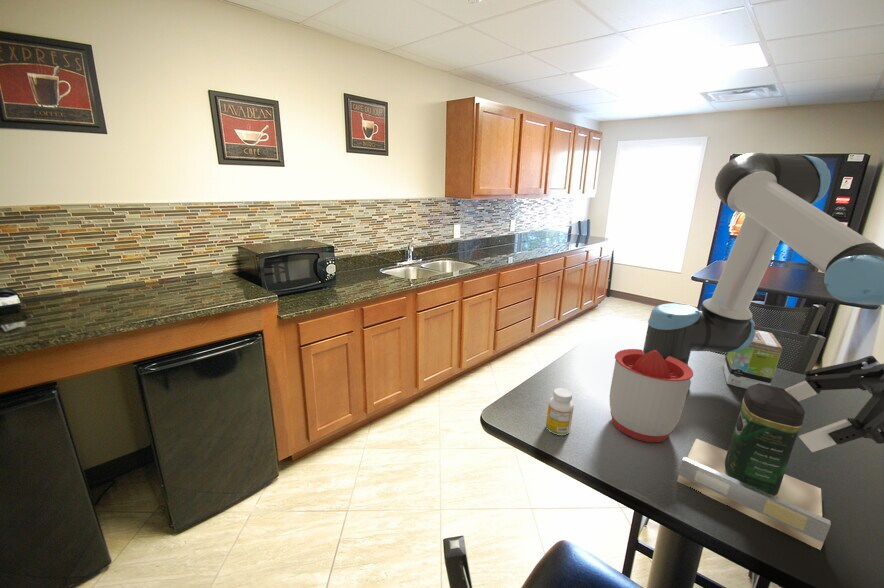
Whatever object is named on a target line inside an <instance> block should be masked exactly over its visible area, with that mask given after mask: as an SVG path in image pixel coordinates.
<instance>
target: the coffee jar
mask: <svg viewBox="0 0 884 588" xmlns="http://www.w3.org/2000/svg"><path fill="white" fill-rule="evenodd" d="M784 389H785V388H782V387H776V386H772V385H770V386H769V385H765V384H760V383H758V384H755V385H752V386H749V387H748V388H747V389H745V392H744V394H743V398H742V402H741V406H740V411H739V415H738V417H737V421H736V423H735V427H734V430H733V434H732V437H731V439H730V440H731V441H730V443H729V446H728V449H727V451H728V452H727V455H726V458H725V468H726V471H727V474H728V476H730V477H732V478H734V479H736V480H739V481H741V482H743V483H746V484H748V485H750V486H752V487H755V488H757V489H759V490H762V491H764V492H766V493H768V494H771V495H773V496H775V495H777V494H778V491H779V489H780V486H781V483H782V480H783V476H784V474H786V473H785V472H786V471H787V470H786V469H787V466H788V463H789V460H790V458H791V455H792V452H793V449H794V446H795V443H796V440H797V437H798V436H799V433H800V431H801V429H802V427H803V422H804V418H805V414H806V411H805V410H804V408H803V405H802V404H801V403H800V401H799V402H798V401H797V400H796V399H795V398H794V397H793V396H792V395H790V394H789V393H788V392H786V391H785V390H784Z"/></svg>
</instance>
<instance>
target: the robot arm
mask: <svg viewBox="0 0 884 588" xmlns="http://www.w3.org/2000/svg"><path fill="white" fill-rule="evenodd" d="M831 181H832V179H831V171H830V169H829V168H828V166H827V163H826V161H824V160H822V159H821V158H819V157H816V156H812V155H806V154H801V153H799V154H798V153H797V154H796V153H768V152H767V153H766V152H765V153H764V152H750V153H749V152H748V153H745V154H744V153H743V154H742V155H739V156H736V157H735V158H734V157H733V159H731V160H730V161H727V162H726V164H724V165H723V166H722V167H721V169H720V170H719V172H718V174H717V176H716V178H715V182H714V189H715V193H716V196H717V197H718V199H719V200H720V201H721V202H722V203H723V204H724V205H725V206H726V207H728V208H729V209H731V210H732V211H734V212H736V213H743V214H744V215H745V216H744V218H743V222H742V223H741V226H740V228H739V230H738V233H737V236H736V238H735V240H734V243H733V245H732V248H731V250H730V252H729V255H728V257H727V260H726V262H725V264H724V267H723V270H722V272H721V274H720V276H719V277H720V278H719V279H718V281H717V284H716V287H715V288H714V291H713V293H712V297H710V298H707V299H705V300H703V301H702V304H701V306H700V309H698V308H697V307H696V306H693V305H688V304H686V303H685V304H684V303H683V304H681V303H680V304H679V303H674V302H673V303H672V302H671V303H663V304H658V305H656V306H655V307H653V308H652V310H651V313H650V314H649V318H648V321H647V323H648V325H647V330H646V335H645V340H644V344H643V345H644V346H643V349H642V351H643V354H644V355H645V354H646V353H648V352H650V351H653V350H656V351H657V352H658V353H659V354H660V355H661V356H662V357H663V359H664V360H665V359H666V358H667V357H668V356H670V357H673V358H676V359H678V360H680V361H682V362H683V363H685V364H687V365H688V366H689V360H690V356H691V352H716V353H724V354H726V353H727V352H737V351H741V350H743V349H745V348H746V347H748V346H749V345H750V344H751V343H752V341H753V339H754V337H755V333H756V329H755V327H756V325H755V321H754V320H753V313H752V311H751V310H750V308H749V307H750V305H751V303H752V301H753V300H754V297H755V295H756V293H757V292H758V288H759V286H760V284H761V281H762V280H763V278H764V276H765V273H766V272H767V269H768V267H769V265H770V263H771V262H772V261H771V260H772V259H773V257H774V256H775V255H774V254H775V253H776V250H777V248H778V246H779V243H780V241H781V242H783V243H784V244H785V245H786V246H788V247H789V248H790V249H792V250H793V251H794V252H795V253H796V254H798V255H800V256H801V257H802V258H803V259H804V260H806V261H808V262H809V263H811V265H813V266H814V267H815V268H817V269H818V270H819V271H820V272H822V273H823V274H824V278H823V281H824V282H823V283H824V285H825V287H826V289H827V292H828V293H829V295H830V296H832V297H833V298H835V300H838V301H841V302H845V303H850V304H858V305H863V306H879V305H880V306H884V247H883V248H882V247H881V246H879V245H878V244H876V242H874V241H872V240H870V239H868V238H866V237H865V236H863V235H862V234H860V233H859V232H857V231H855V230H854V229H853V228H851V227H849V226H847V225H846V224H844V223H843V222H840V221H839V220H837V219H836V218H834V217H833V216H831V215H829V214H827V213H826V212H825V211H823V210H821V209H820V208H818V207H816V206H815V204H816V203H817V202H819V201H821V199H823V198H824V196H825V195H826V194H827V193H828V190H829V188H830V184H831ZM803 374H804V375H805V378H804V380H802V381H801V382H798V383H796V384H794V385H791V386H789V387H787V388H783V389H784V390H785V391H786V392H788V393H789V394H790V395H792V396H793V397H794V398H795V399H796V400H797V401H798V402H799V403H800V402H801V401H803V400H806V399H809V398H811V397H814V396H816V395H818V394H820V393H821V391H831V390H832V391H833V390H837V391H839V390H854V389H855V390H856V389H857V390H858V389H859V390H861V391H866V392H868V393H870V394H872V396H871V397H870V398H869V399H868V401H866V403H865V405H864V406H863V407H862V408H861V409H860V411H859V412H858V413H857V415H856V416H855V417H854V418H851V417H850V418H849V417H848V418H847V419H846V418H844V419H842V420H839V421H836V422H833V423H830V424H828V425H825V426H821V427H820V428H816V429H814V430H811V431H808V432H805V433H803V434H800V435H798V438H799V440H801V441H802V443H803V444H804V445H805V446H806V447H807V449H809V450H810V451H811V453H815V452H817V451H821V450H823V449H827V448H829V447H832V446H835V445H843V444H846V443H848V442H851V441H855V440H857V439H860V438H861V439H862V438H864V439H870V440H872V441H874V442H875V444H879V445H881V444H884V363H880V362H879V360H877V358H876V357H875V356H874V355H868V356H865V357H862V358H859V359H857V360H853V361H847V362H844V363H838V364H837V363H836V364H834V365H833V364H832V365H828V366H823V367H818V368H813V369H809V370H805V371H804V372H803ZM691 383H692V381H691V379H690V383H689V387H688V392H689V390H690V387H691ZM879 430H880V431H879Z"/></svg>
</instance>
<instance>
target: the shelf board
mask: <svg viewBox="0 0 884 588" xmlns="http://www.w3.org/2000/svg"><path fill="white" fill-rule="evenodd" d="M692 444H693V445H692V446H691V448H690V451H689V452H688V455H687V457H686V458H688V459H691V460H693V461H695V462H698V463H700V464H702V465H704V466H707V467H709V468H711V469H714V470H716V471H718V472H720V473H723V474H725V475H727V476H728V474H727V471H726V468H725V458H726V455H727V452H728V450H725V449H723V448H721V447H718V446H716V445H713V444H710V443H709V442H706V441H703V440H701V439H699V438H695V441H694V442H693V443H692ZM676 482H678V483H679V484H682V485H684V486H686V487H688V488H690V487H691V489H692V488H693V489H692V490H694V489H695V491H696V490H697V491H696V492H698V491H699V492H698V493H700V492H701V494H703V495H705V496H707V497H709V498H711V499H712V500H715V501H717V502H719V503H721V504H724V505H726V506H727V505H728V507H729V506H730V507H729V508H732V509H733V510H736V511H738V512H740V513H741V514H744V515H746V516H748V517H750V518H753V519H755V520H756V521H759V522H761V523H763V524H764V525H767V526H769V527H771V528H774V529H775V530H778V531H780V532H781V533H784V534H786V535H788V536H790V537H791V538H795V539H796V540H798V541H800V542H803V543H805V544H807V545H808V546H811V547H813V548H815V549H818V550H819V551H822V550H821V549H822V547H823V545H824V543H823V542H821V541H818V540H816V539H814V538H812V537H810V536H808V535H806V534H804V533H801V532H799V531H797V530H795V529H793V528H791V527H789V526H787V525H784V524H782V523H780V522H778V521H776V520H774V519H772V518H769V517H767V516H765V515H763V514H761V513H759V512H757V511H755V510H752V509H750V508H748V507H746V506H744V505H742V504H740V503H738V502H735V501H733V500H731V499H729V498H727V497H725V496H723V495H720V494H718V493H716V492H714V491H712V490H710V489H708V488H706V487H703V486H701V485H699V484H697V483H695V482H693V481H691V480H689V479H686V478H684V477H682V476H680V475H679V474H678V476H677V480H676ZM775 497H778V498H780V499H782V500H784V501H787V502H789V503H791V504H794V505H796V506H798V507H800V508H803V509H805V510H807V511H810V512H812V513H814V514H816V515H819V516H821V517H823V502H822V501H823V499H822V488H821V487H818V486H815V485H813V484H810V483H808V482H805V481H803V480H800V479H798V478H796V477H793V476H790V475H788V474H786V473H784V476H783V480H782V483H781V486H780V489H779V491H778V494H777V495H775Z"/></svg>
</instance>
